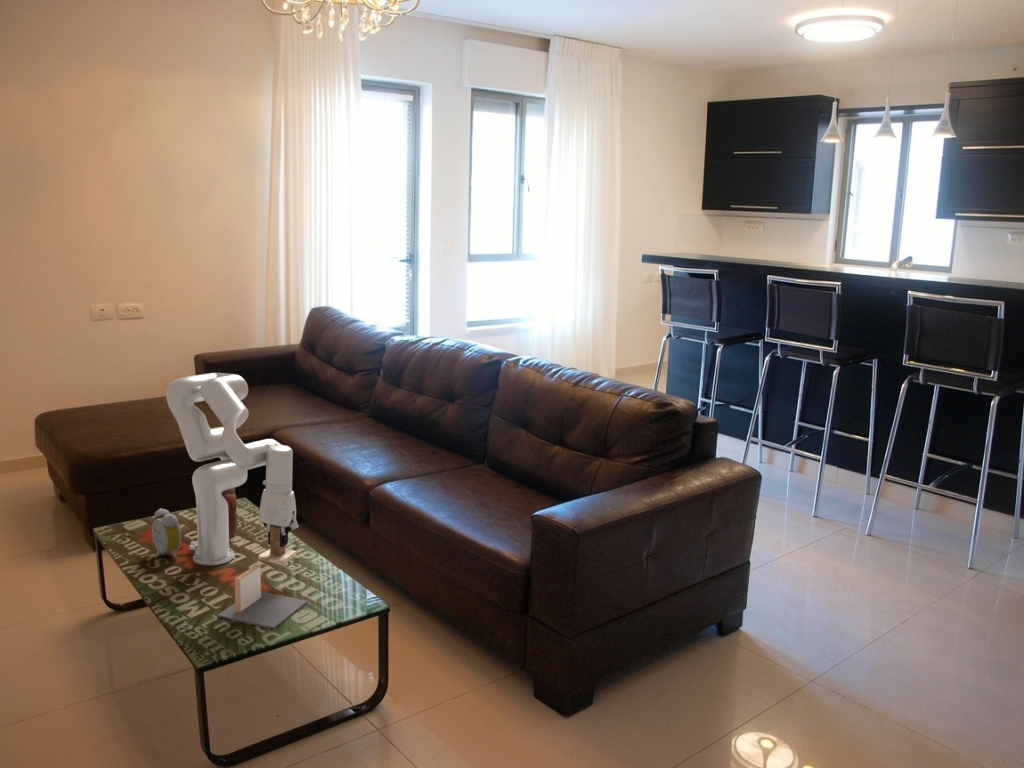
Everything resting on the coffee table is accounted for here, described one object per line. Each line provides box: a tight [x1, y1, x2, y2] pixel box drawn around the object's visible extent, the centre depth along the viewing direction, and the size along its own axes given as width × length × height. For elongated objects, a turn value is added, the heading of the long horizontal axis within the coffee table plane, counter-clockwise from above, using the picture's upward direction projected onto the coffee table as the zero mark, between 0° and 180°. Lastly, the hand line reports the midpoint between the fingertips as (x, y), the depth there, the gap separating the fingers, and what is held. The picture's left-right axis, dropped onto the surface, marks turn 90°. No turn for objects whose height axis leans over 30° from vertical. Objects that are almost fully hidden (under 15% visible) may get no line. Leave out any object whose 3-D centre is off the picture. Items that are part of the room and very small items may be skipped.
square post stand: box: [257, 525, 298, 566], centre depth 249 cm, size 8×8×10 cm
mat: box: [217, 590, 309, 630], centre depth 235 cm, size 18×17×1 cm
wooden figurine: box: [221, 487, 238, 538], centre depth 287 cm, size 12×6×18 cm, turn 29°
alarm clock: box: [151, 507, 182, 560], centre depth 266 cm, size 12×7×15 cm, turn 44°
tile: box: [234, 564, 262, 612], centre depth 235 cm, size 2×10×10 cm, turn 162°
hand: (277, 543), depth 249 cm, fingers closed on square post stand, 3 cm apart
